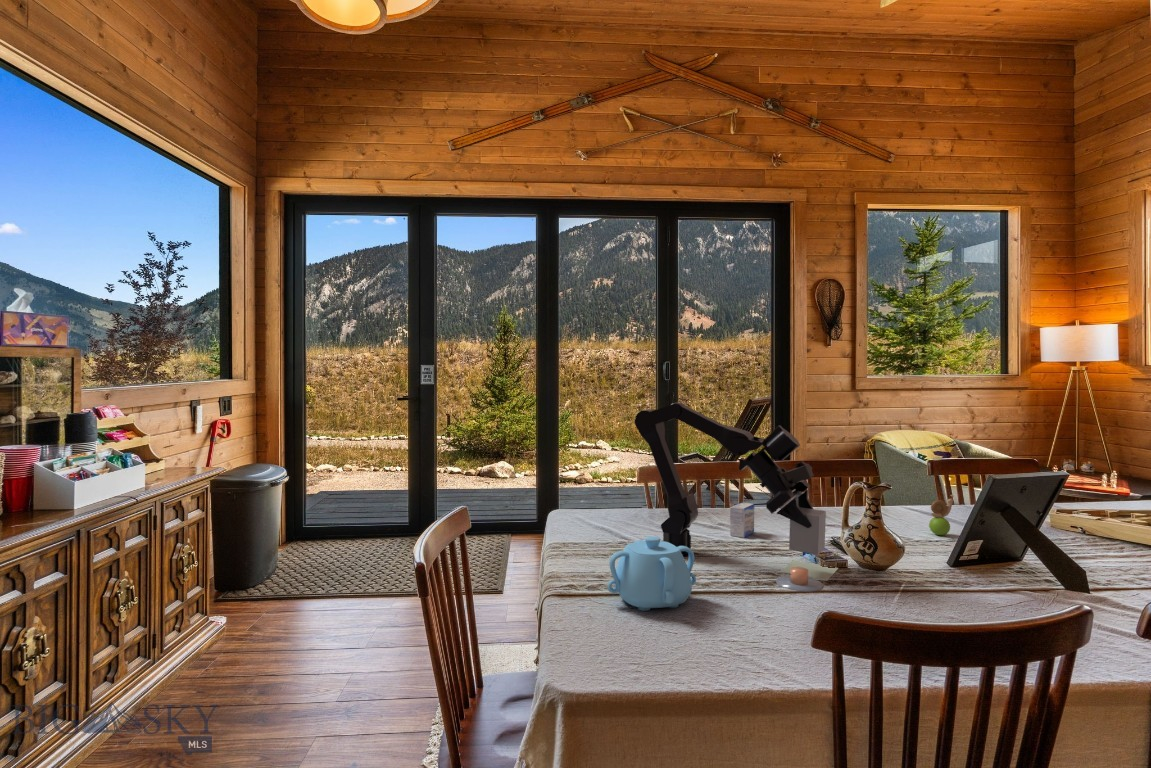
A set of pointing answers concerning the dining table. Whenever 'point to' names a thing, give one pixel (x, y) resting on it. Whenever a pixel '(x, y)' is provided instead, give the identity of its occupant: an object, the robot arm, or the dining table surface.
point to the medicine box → (742, 520)
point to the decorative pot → (652, 574)
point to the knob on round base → (799, 581)
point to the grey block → (808, 533)
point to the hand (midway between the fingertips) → (813, 523)
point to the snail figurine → (940, 517)
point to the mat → (811, 569)
